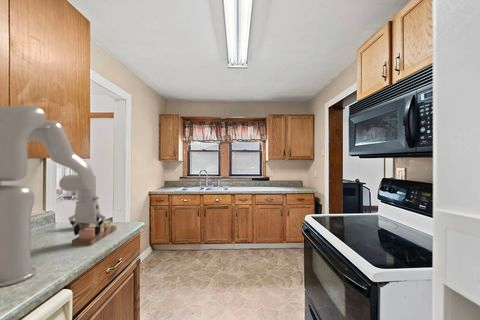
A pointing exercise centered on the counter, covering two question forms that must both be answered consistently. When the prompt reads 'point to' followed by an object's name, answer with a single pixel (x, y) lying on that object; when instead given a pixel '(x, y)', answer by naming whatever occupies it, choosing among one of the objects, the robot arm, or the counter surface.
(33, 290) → the counter surface
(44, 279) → the counter surface
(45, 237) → the counter surface
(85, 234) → the brick cube
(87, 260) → the counter surface
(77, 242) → the walnut tray
